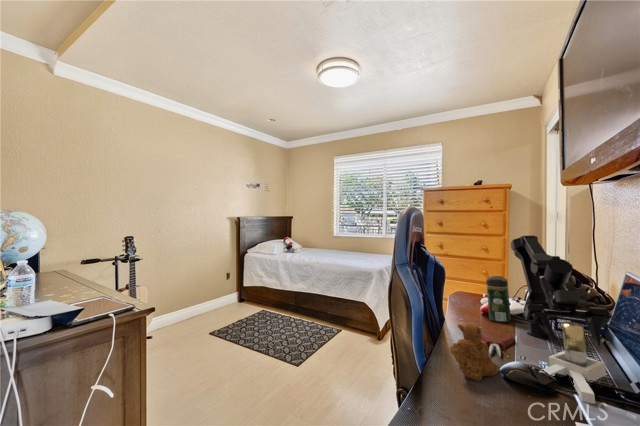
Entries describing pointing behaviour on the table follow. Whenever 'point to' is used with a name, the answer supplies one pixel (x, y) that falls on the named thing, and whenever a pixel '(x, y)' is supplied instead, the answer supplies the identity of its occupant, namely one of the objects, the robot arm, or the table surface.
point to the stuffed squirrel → (473, 353)
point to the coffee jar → (498, 299)
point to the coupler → (574, 343)
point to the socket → (577, 373)
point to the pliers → (498, 344)
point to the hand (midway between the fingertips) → (576, 343)
